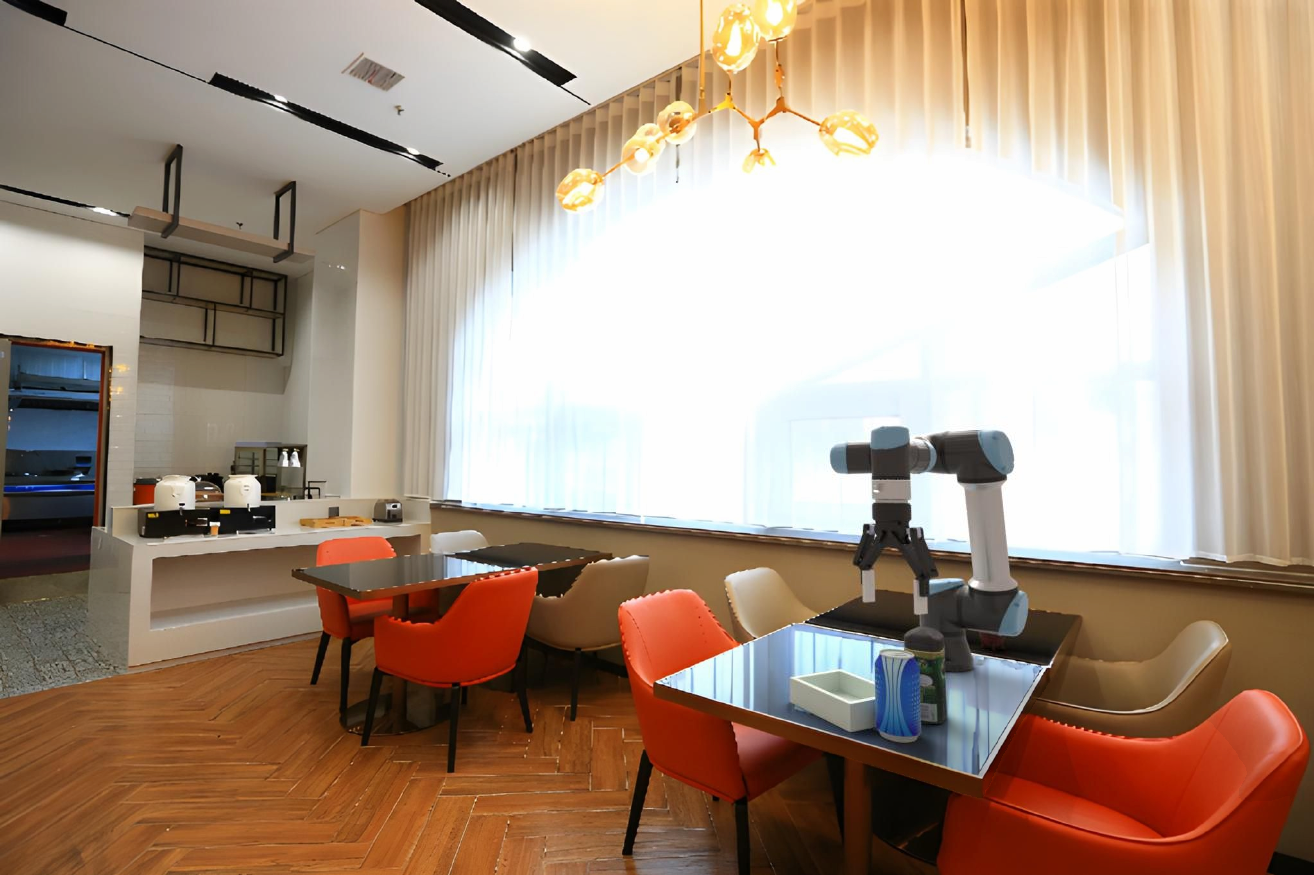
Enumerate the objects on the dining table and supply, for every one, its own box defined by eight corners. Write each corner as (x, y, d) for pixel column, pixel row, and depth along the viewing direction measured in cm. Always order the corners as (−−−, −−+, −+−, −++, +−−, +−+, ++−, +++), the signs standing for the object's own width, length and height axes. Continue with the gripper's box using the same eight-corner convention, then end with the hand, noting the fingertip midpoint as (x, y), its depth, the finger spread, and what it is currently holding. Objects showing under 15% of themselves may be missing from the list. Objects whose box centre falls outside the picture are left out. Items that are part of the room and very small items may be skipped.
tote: (840, 692, 150) (840, 669, 151) (904, 720, 133) (904, 693, 133) (789, 702, 144) (789, 677, 144) (850, 732, 126) (849, 704, 127)
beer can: (917, 748, 119) (914, 661, 120) (871, 738, 124) (869, 654, 125) (924, 733, 126) (922, 651, 127) (881, 724, 131) (879, 645, 132)
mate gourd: (978, 644, 196) (976, 595, 197) (1006, 646, 193) (1005, 597, 194) (981, 650, 189) (980, 599, 190) (1011, 652, 186) (1009, 601, 187)
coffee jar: (910, 707, 141) (908, 622, 142) (949, 714, 137) (946, 626, 138) (902, 721, 133) (900, 631, 134) (943, 728, 128) (940, 636, 130)
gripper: (835, 500, 138) (836, 598, 137) (928, 503, 116) (931, 621, 114) (861, 500, 141) (863, 596, 140) (956, 503, 119) (960, 617, 117)
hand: (893, 607), depth 127 cm, fingers open, 13 cm apart
